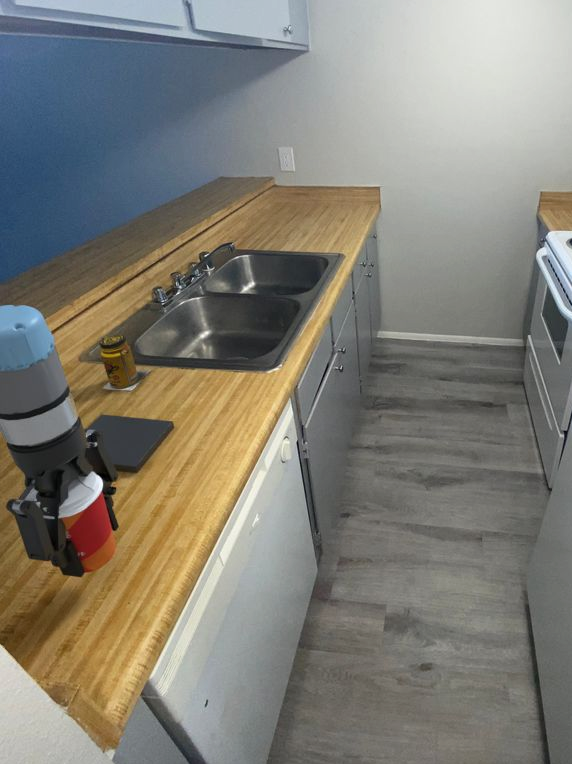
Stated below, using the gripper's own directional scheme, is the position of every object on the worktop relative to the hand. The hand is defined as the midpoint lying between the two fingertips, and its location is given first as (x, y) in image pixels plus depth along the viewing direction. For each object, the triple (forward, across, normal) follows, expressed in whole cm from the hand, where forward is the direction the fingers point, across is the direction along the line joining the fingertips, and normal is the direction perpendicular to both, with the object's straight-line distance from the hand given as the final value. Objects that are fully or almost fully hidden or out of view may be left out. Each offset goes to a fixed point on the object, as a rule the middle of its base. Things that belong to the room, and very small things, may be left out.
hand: (92, 549), depth 68 cm
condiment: (+6, -47, -27) cm, 54 cm away
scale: (+6, -26, -15) cm, 30 cm away
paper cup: (+2, 0, 0) cm, 2 cm away
